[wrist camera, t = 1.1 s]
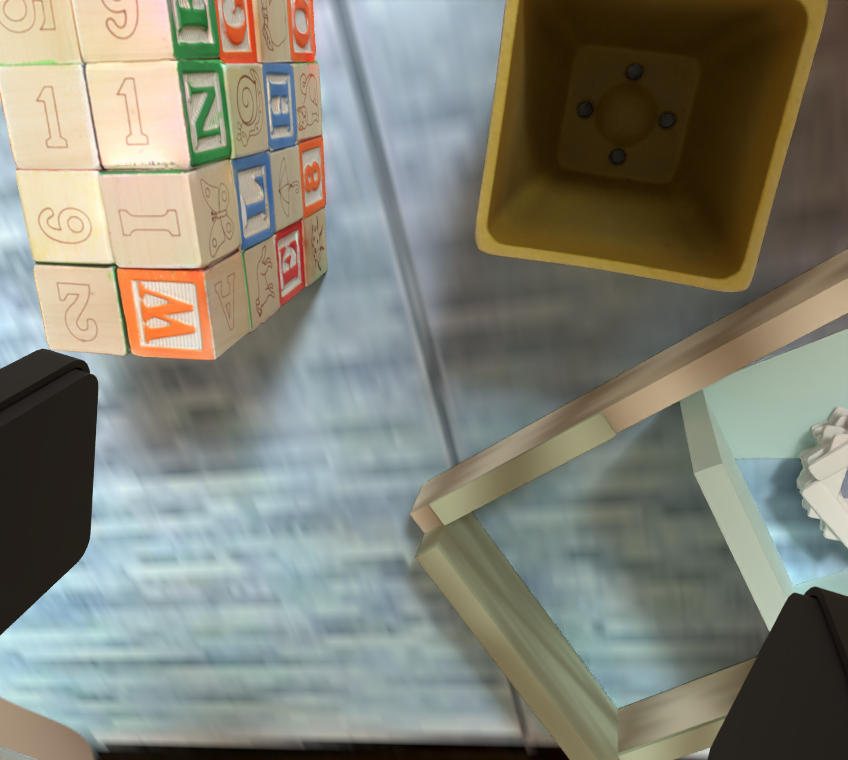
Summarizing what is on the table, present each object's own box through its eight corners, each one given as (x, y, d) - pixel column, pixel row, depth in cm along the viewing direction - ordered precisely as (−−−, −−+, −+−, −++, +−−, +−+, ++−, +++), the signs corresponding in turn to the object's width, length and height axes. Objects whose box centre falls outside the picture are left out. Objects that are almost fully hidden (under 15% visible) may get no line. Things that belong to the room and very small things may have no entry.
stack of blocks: (145, -280, 31) (-122, -473, 20) (300, -296, 29) (111, -513, 18) (207, 269, 39) (43, 355, 27) (332, 274, 37) (212, 367, 26)
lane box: (1159, 75, 28) (1265, 78, 23) (1344, 465, 31) (1468, 535, 27) (423, 483, 40) (399, 537, 36) (609, 732, 43) (609, 811, 39)
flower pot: (775, 5, 30) (837, -15, 21) (715, 239, 33) (749, 298, 25) (538, -20, 31) (511, -49, 23) (504, 206, 34) (470, 252, 26)
